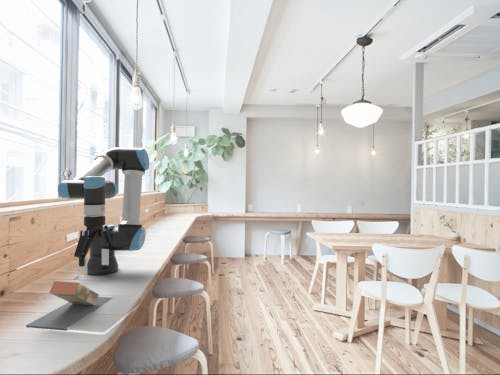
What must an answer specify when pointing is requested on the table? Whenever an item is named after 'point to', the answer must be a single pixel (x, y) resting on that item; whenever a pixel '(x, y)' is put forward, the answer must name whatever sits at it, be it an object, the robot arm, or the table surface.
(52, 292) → the block
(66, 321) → the mat
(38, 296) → the table surface
